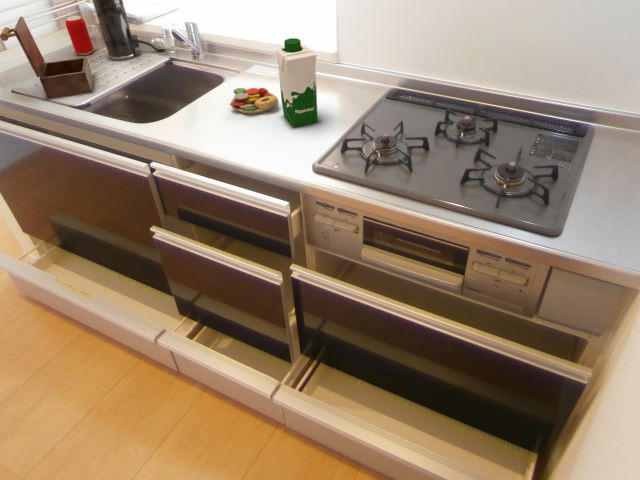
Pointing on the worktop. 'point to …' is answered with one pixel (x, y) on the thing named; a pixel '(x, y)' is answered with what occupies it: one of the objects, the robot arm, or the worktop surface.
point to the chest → (66, 77)
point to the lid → (25, 44)
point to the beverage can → (79, 35)
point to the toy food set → (253, 100)
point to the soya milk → (298, 82)
